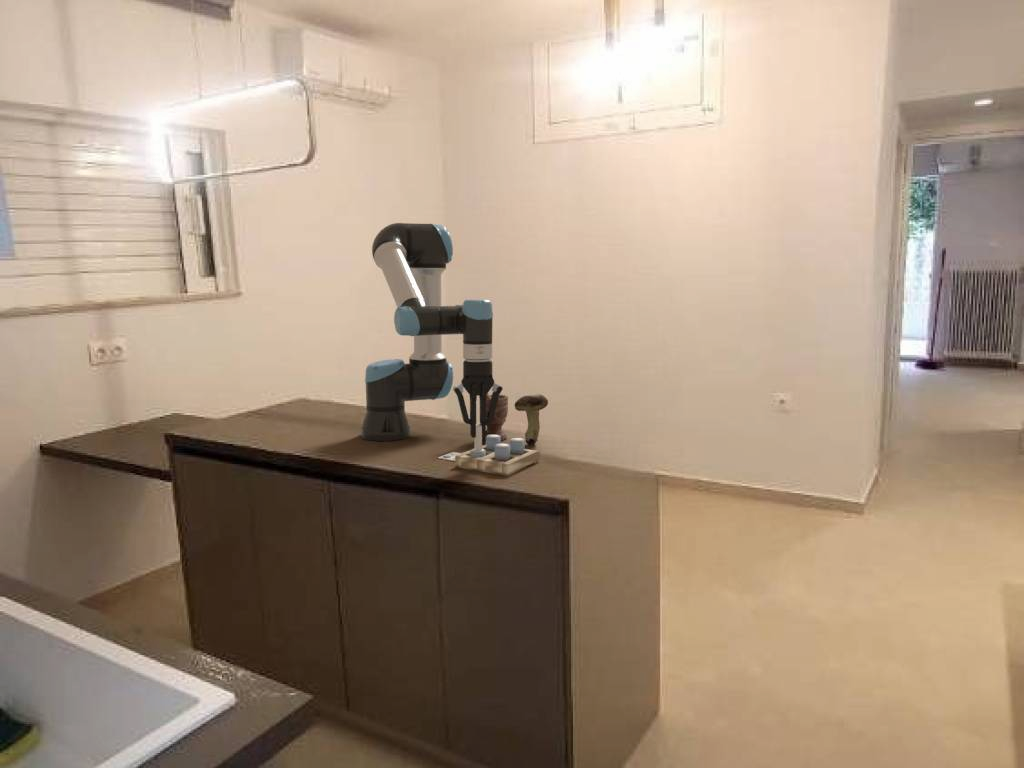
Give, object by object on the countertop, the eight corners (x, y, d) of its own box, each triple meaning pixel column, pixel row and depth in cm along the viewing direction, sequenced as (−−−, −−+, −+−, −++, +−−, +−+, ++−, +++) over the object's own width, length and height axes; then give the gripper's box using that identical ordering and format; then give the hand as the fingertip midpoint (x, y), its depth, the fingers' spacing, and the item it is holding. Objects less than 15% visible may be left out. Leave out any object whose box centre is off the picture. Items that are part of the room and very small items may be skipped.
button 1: (467, 464, 188) (467, 450, 187) (475, 460, 191) (475, 447, 190) (480, 466, 186) (480, 452, 185) (488, 463, 189) (488, 449, 188)
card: (437, 458, 195) (437, 457, 195) (452, 453, 201) (452, 451, 201) (459, 462, 192) (459, 460, 192) (473, 456, 198) (473, 455, 198)
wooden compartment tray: (455, 466, 187) (455, 455, 186) (488, 453, 200) (488, 443, 200) (507, 476, 179) (507, 464, 178) (538, 461, 192) (538, 450, 192)
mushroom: (553, 444, 212) (554, 394, 209) (534, 450, 205) (535, 398, 203) (529, 439, 218) (529, 391, 215) (510, 444, 211) (510, 394, 209)
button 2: (483, 449, 194) (483, 436, 193) (490, 446, 197) (490, 433, 196) (495, 451, 192) (495, 438, 191) (503, 448, 195) (503, 435, 194)
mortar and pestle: (486, 445, 211) (486, 378, 208) (466, 440, 216) (466, 375, 213) (513, 438, 219) (513, 374, 216) (493, 434, 225) (493, 371, 222)
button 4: (506, 453, 190) (506, 439, 189) (514, 450, 193) (514, 437, 193) (519, 455, 188) (519, 441, 187) (527, 452, 191) (527, 438, 191)
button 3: (491, 459, 183) (491, 445, 183) (499, 456, 187) (499, 442, 186) (504, 461, 181) (504, 447, 181) (512, 458, 185) (512, 444, 184)
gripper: (455, 362, 179) (455, 454, 182) (505, 360, 182) (505, 451, 185) (450, 358, 186) (451, 447, 190) (499, 357, 189) (499, 444, 193)
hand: (478, 449), depth 188 cm, fingers closed
